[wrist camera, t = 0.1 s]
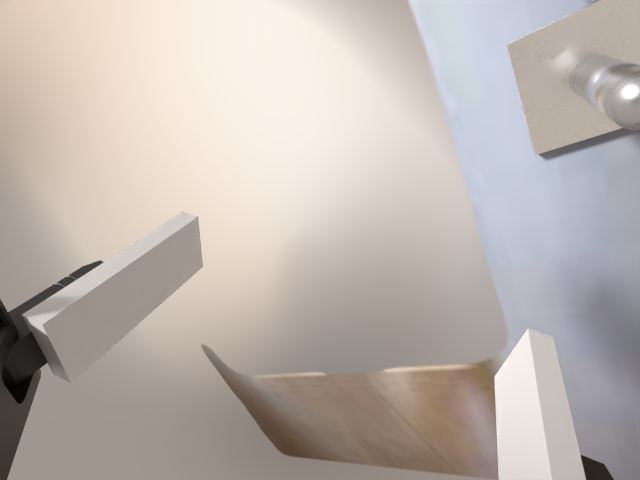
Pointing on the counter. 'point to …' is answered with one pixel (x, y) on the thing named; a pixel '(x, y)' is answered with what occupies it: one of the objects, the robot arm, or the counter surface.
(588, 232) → the counter surface
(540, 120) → the post stand
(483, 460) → the counter surface
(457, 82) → the counter surface
